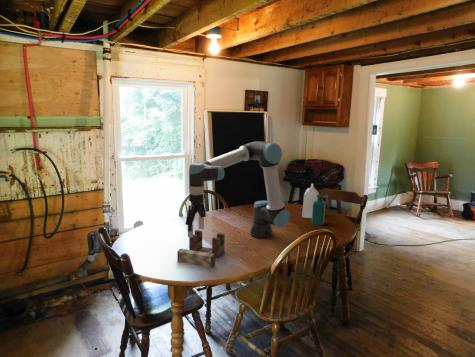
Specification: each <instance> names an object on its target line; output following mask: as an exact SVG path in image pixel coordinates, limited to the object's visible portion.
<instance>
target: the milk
mask: <svg viewBox="0 0 475 357" xmlns="http://www.w3.org/2000/svg"><path fill="white" fill-rule="evenodd" d="M316 195H320V194H319V191H318V190H317V189H316V188H315V186H314V183H311V184H310V187H307V189H306V190H305V192H304V194H303V204H302V211H301V212H302V213H301V217H302V218H307V219H312V210H313V203H314V201H316V200H317V196H316Z"/></svg>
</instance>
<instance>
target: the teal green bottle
mask: <svg viewBox="0 0 475 357" xmlns="http://www.w3.org/2000/svg"><path fill="white" fill-rule="evenodd" d="M316 196H317V200H316V201H314V203H313V210H312V218H311V225H314V226H320V225H322V226H323V225H324V223H325V217H326V216H325V213H326V204H327V202H328V198H329V195H327V194H326V195H321V194H319V195H316ZM323 199H325V200H323Z"/></svg>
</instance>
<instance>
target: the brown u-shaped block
mask: <svg viewBox="0 0 475 357" xmlns="http://www.w3.org/2000/svg"><path fill="white" fill-rule="evenodd" d="M225 234H226V233H222V232H217V234H216V237H215V236H213V237H211V247H205V246H203V230H202V229H195V230H194V233H193V238H192V237H188V241H189V243H188V244H189V245H188V248H189V249H188V250H193V251H199V252H205V253H212V254H215V259H216V258H217V259H219V258H220V257H221V256H222V255H223V254H224V253H225V241H226V240H225V236H226V235H225Z"/></svg>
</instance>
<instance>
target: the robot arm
mask: <svg viewBox="0 0 475 357" xmlns="http://www.w3.org/2000/svg"><path fill="white" fill-rule="evenodd" d="M282 157H283V151H282V148H281V146H280V145H279V144H277V143H275V142H272V141H261V140H255V141H252V142H249V143H246V144H243V145H241V146H239V148H237V149H234V150H231V151H229V152H227V153H224V154H220V155H219V156H215V157H213V158H210V159H208V160H204V161H202V162H199V161H196V162H194V163H191V164H189V168H188V169H189V170H188V193H189V194H188V201H189V202H190V203H191V205H190V204H188V207H187V208H188V209H187V215H186V220H185V225H186V226H187V237H188V238H189V237H192V238H193V234H194V220H195V218H196V214H197V213H198V230H204V228H205V218H206V216H207V215H206V214H207V213H206V209H205V204H204V203H205V202H204V200H205V199H204V198H205V196H204V192H205V187H204V186H205V182H212V181H220V180H221V181H222V180H223V179H224V178H225V169H224V168H228V167H230V166H232V165H235V164H237V163H241V162H243V161H244V162H247V161H249V160H250V161H251V160H253V161H259V167H260V168H262V172H263V177H264V178H263V179H264V184H265V185H264V186H265V190H266V191H265V192H266V198H267V200H257V201H255V202H254V204H253V218H252V219H253V221H252V222H253V223H252V225H251V228H250V232H249V233H250V236H251V237H253V238H257V239H269V238H272V237H273V235H274V232H273V228H272V226H274V227H278V228H282V227H285V226H286V225H287V224H288V223H289V220H290V218H291V213H290V211H289V210H288V209H286V205H285V203H284V202H283V201H282V194H281V186H280V177H279V171H278V166H279V165H280V162H281V161H282Z"/></svg>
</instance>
